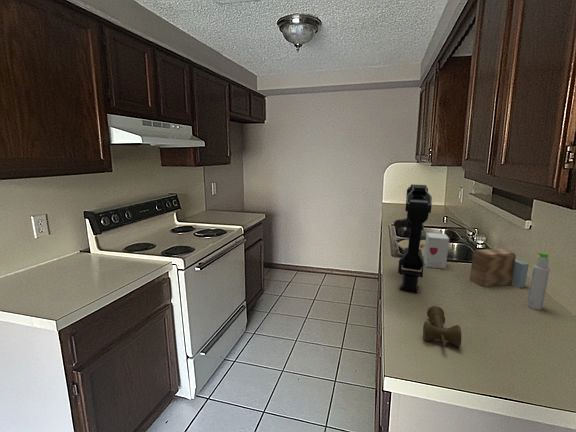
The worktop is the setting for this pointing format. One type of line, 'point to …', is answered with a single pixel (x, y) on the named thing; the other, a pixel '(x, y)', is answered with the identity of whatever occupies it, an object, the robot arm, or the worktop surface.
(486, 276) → the walnut box
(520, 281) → the board
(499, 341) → the worktop surface
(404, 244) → the cheese
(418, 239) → the robot arm
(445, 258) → the supplement box
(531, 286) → the bottle
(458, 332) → the kendama
